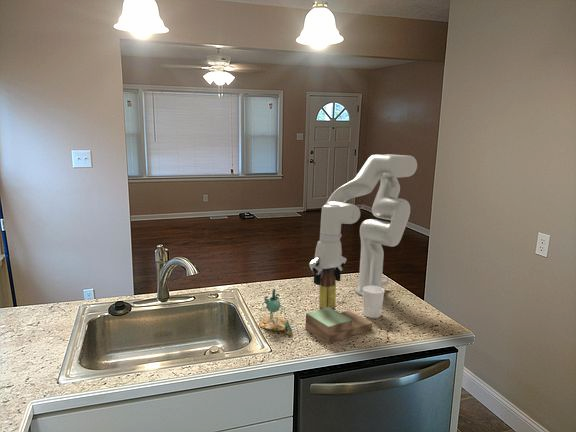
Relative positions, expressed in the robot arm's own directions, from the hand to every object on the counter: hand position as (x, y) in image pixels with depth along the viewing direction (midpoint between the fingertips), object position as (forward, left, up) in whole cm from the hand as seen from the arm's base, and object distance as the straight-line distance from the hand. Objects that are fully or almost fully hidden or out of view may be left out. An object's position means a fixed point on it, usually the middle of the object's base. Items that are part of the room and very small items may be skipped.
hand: (326, 282), depth 161 cm
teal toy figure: (+24, +1, -12) cm, 27 cm away
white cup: (-13, +12, -12) cm, 21 cm away
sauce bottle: (-1, 0, -12) cm, 12 cm away
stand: (+6, +15, -11) cm, 20 cm away
